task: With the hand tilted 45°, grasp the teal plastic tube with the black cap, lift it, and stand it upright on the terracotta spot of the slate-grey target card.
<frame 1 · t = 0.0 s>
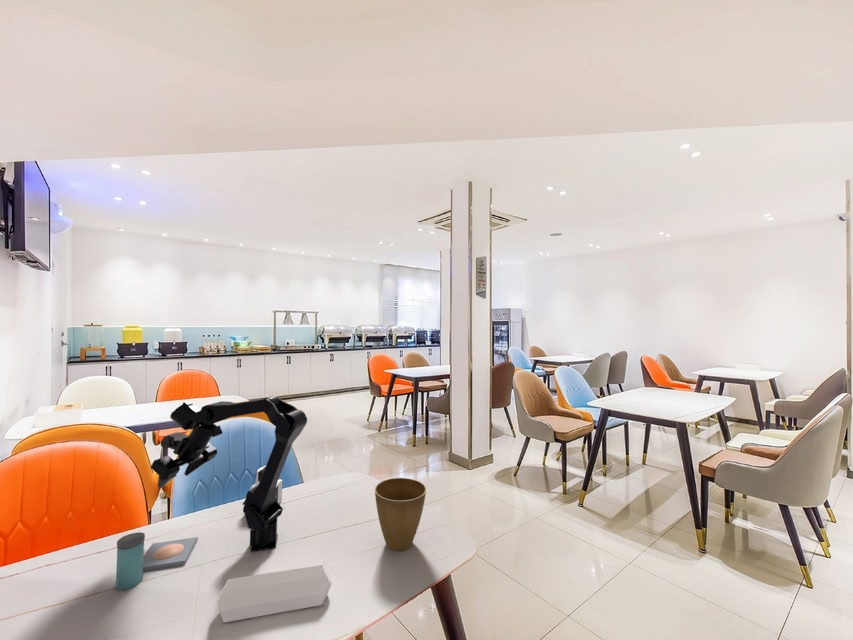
hand: (173, 480, 110), 15 cm above the table, tool tilted 35°, fingers open, 9 cm apart
plant pot: (399, 544, 105), on the table
container: (266, 506, 126), on the table
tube: (129, 582, 87), on the table
target card: (168, 555, 98), on the table
white hexagonal prism: (276, 605, 81), on the table
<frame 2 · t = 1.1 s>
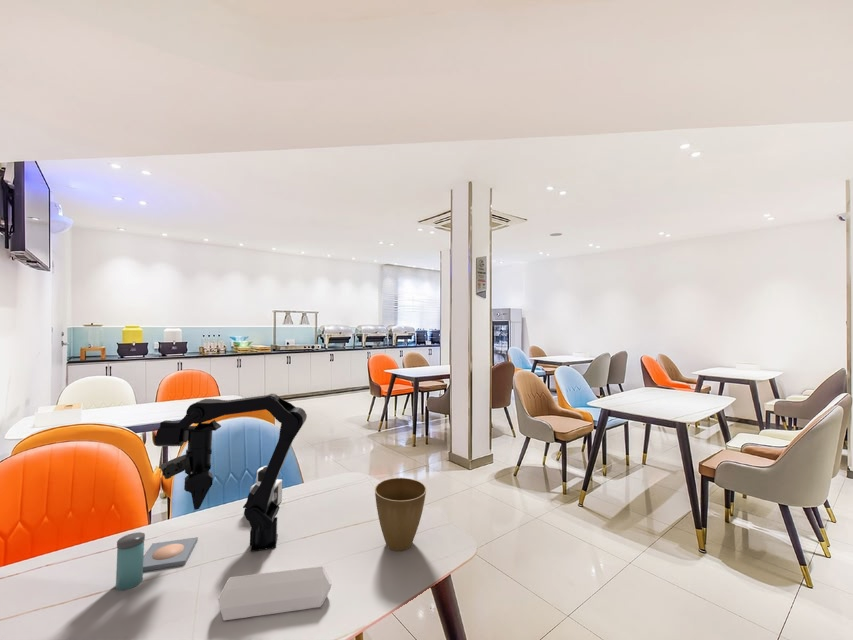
hand: (196, 502, 101), 13 cm above the table, tool pointing down, fingers open, 9 cm apart
nothing on the table moved.
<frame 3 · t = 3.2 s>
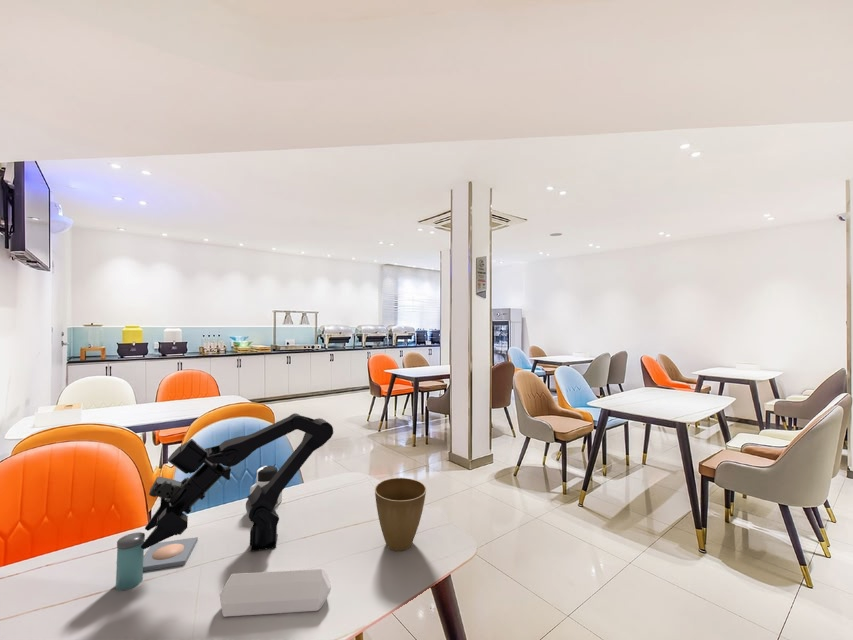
hand: (144, 538, 89), 10 cm above the table, tool tilted 45°, fingers open, 9 cm apart
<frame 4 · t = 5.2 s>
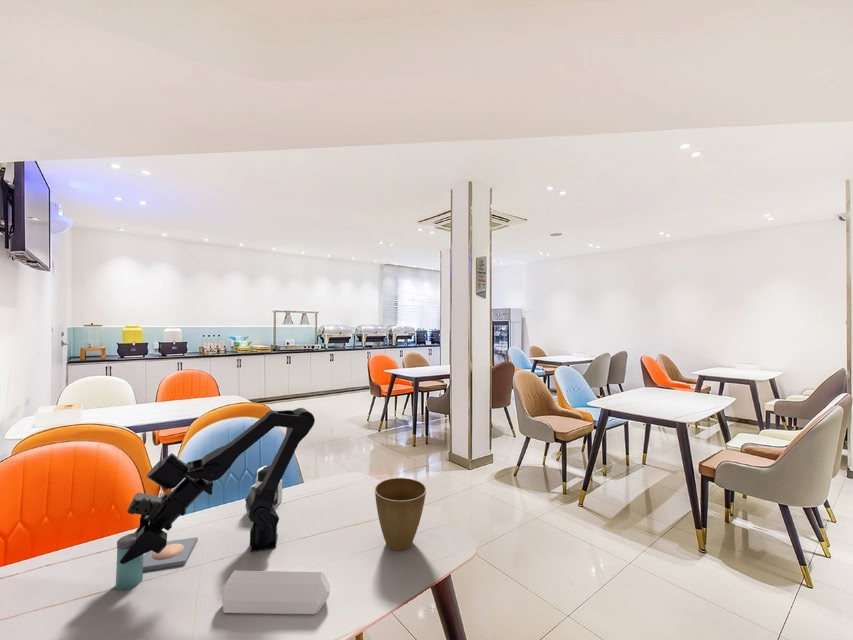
hand: (123, 556, 86), 7 cm above the table, tool tilted 45°, fingers closed on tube, 5 cm apart
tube: (129, 582, 87), on the table, touching gripper
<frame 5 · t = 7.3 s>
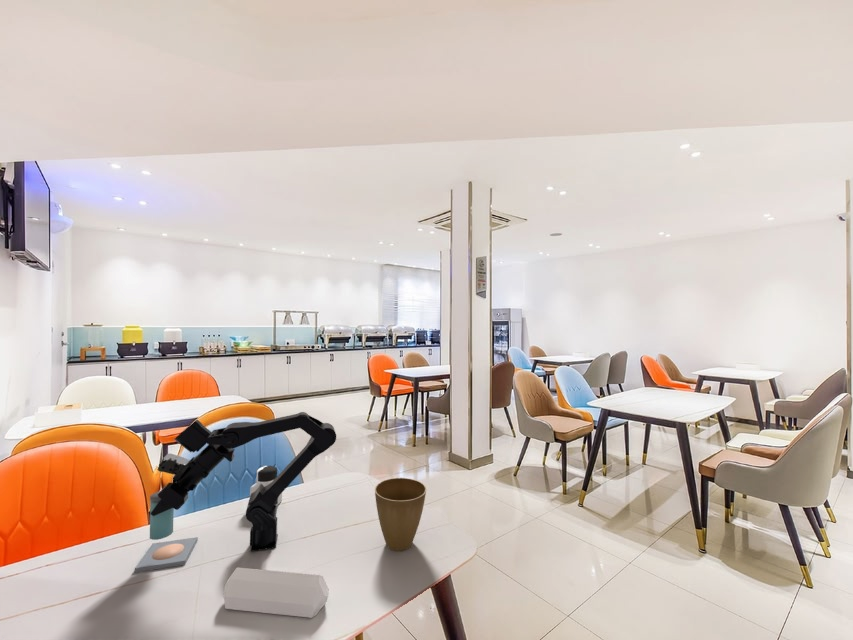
hand: (156, 509, 95), 13 cm above the table, tool tilted 45°, fingers closed on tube, 5 cm apart
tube: (161, 534, 96), point 7 cm above the table, touching gripper
when the fingers open (9 cm above the table, at t = 9.4 s): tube drops 1 cm, resting on target card.
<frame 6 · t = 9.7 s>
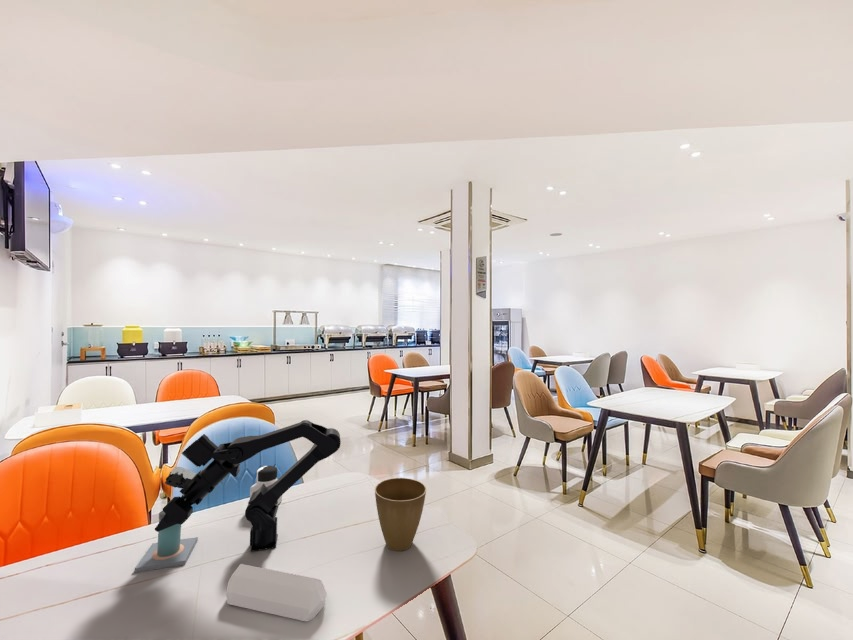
hand: (163, 521, 97), 9 cm above the table, tool tilted 45°, fingers open, 8 cm apart
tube: (168, 551, 98), point 1 cm above the table, touching target card
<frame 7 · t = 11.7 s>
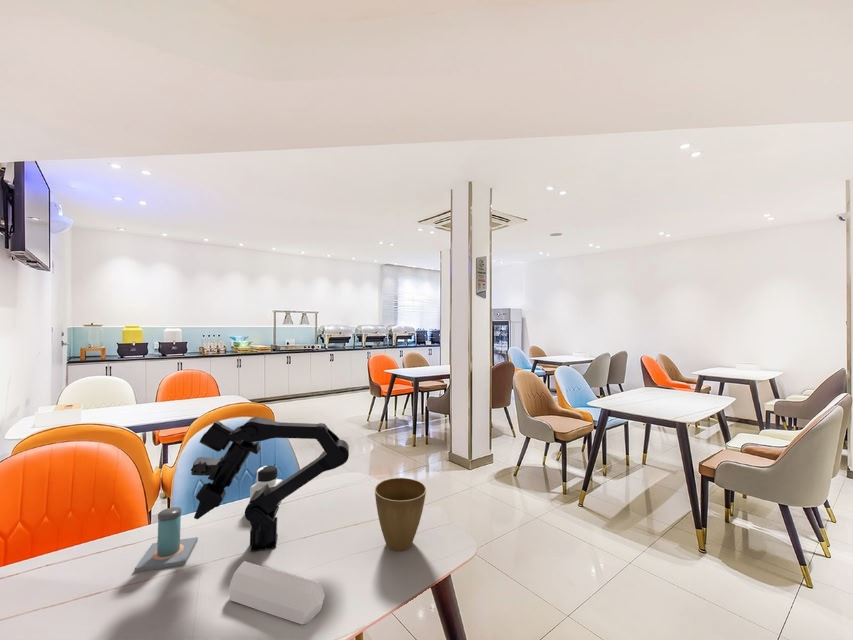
hand: (201, 509, 101), 11 cm above the table, tool tilted 30°, fingers open, 9 cm apart
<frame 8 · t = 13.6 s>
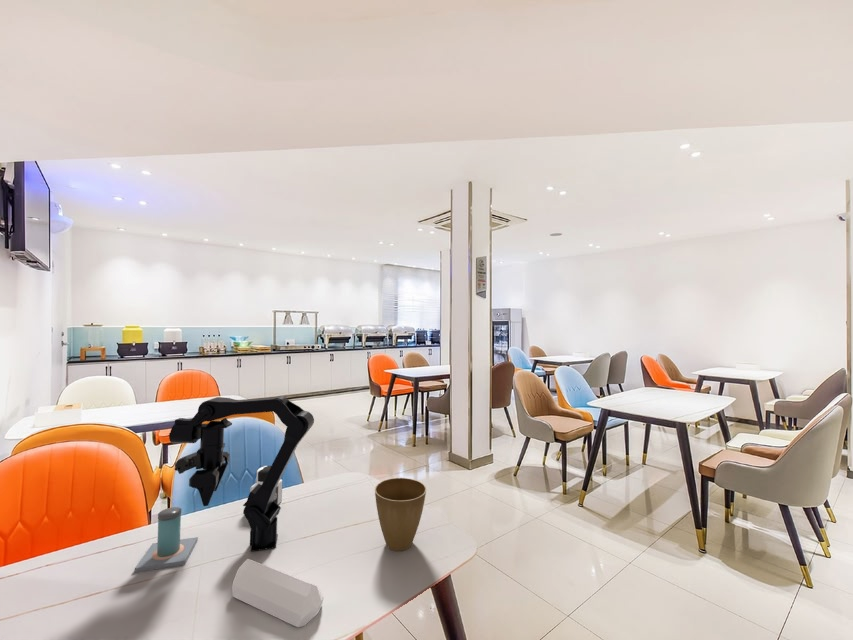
hand: (210, 498, 103), 13 cm above the table, tool pointing down, fingers open, 9 cm apart
at the end: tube 0.0 cm off-centre on the target card, point 1.1 cm above the target card's base; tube tilted 0°; the gripper is holding nothing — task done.
